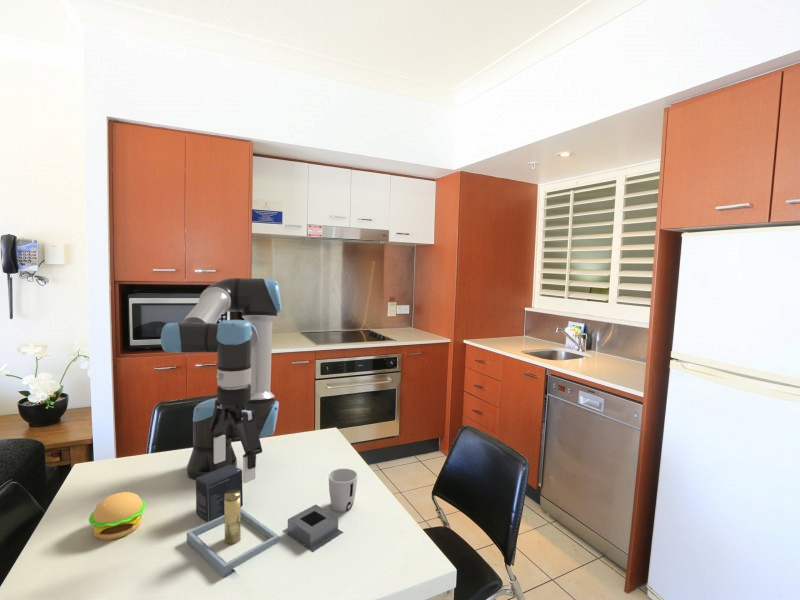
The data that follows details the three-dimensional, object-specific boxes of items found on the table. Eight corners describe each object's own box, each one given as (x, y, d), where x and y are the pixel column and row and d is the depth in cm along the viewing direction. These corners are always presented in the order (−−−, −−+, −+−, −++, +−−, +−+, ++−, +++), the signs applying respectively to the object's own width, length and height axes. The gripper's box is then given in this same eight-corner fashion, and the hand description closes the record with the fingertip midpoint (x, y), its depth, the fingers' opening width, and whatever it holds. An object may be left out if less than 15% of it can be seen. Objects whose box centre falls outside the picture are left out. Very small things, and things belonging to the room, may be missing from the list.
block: (282, 534, 104) (282, 517, 104) (313, 517, 112) (313, 501, 112) (312, 556, 97) (313, 537, 96) (343, 536, 104) (344, 519, 104)
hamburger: (86, 550, 96) (85, 515, 96) (91, 523, 106) (91, 491, 106) (146, 534, 102) (145, 501, 102) (146, 510, 113) (145, 480, 112)
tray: (186, 541, 100) (186, 532, 100) (239, 516, 111) (239, 507, 111) (224, 577, 89) (224, 566, 89) (279, 545, 100) (279, 536, 100)
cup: (351, 519, 112) (352, 484, 111) (323, 515, 113) (324, 480, 113) (360, 503, 120) (361, 470, 119) (333, 499, 121) (334, 466, 120)
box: (230, 498, 120) (230, 463, 120) (243, 505, 116) (243, 470, 116) (194, 514, 112) (194, 477, 111) (207, 523, 108) (207, 485, 107)
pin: (221, 540, 100) (221, 493, 99) (235, 533, 103) (235, 487, 102) (229, 547, 98) (229, 499, 97) (243, 540, 100) (243, 493, 99)
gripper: (193, 377, 102) (194, 459, 104) (248, 400, 87) (247, 496, 89) (222, 372, 108) (222, 449, 110) (278, 393, 93) (277, 483, 94)
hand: (233, 470), depth 99 cm, fingers open, 13 cm apart
